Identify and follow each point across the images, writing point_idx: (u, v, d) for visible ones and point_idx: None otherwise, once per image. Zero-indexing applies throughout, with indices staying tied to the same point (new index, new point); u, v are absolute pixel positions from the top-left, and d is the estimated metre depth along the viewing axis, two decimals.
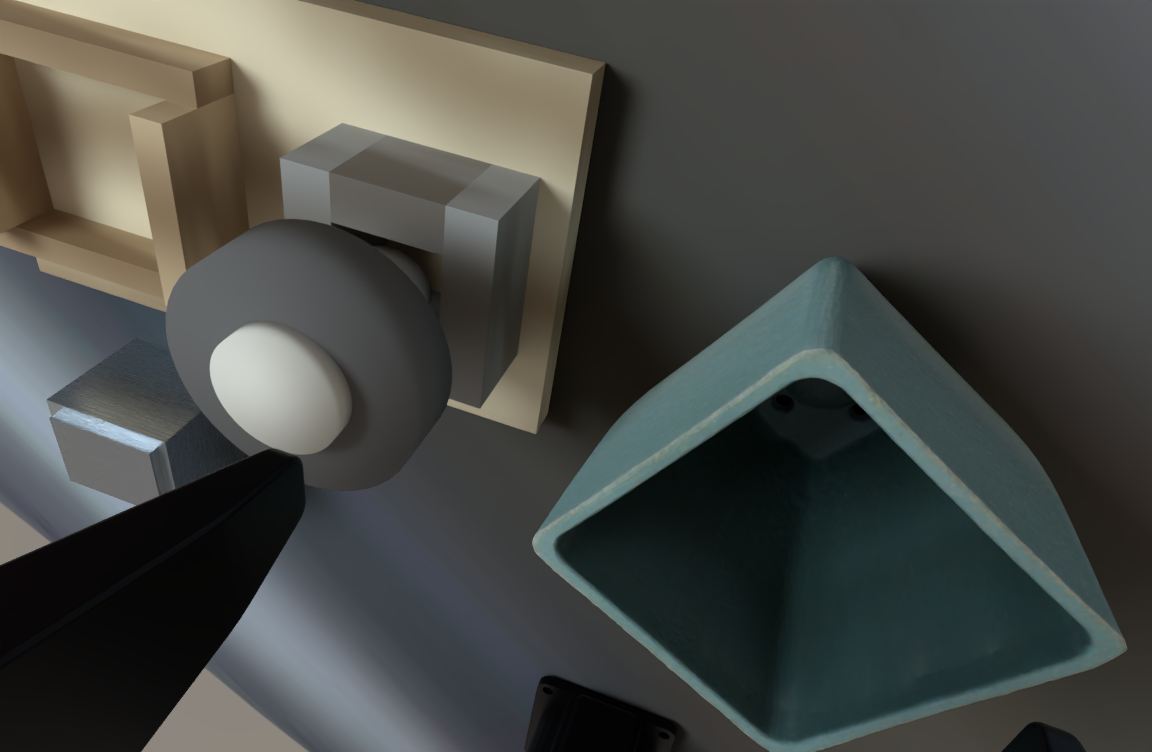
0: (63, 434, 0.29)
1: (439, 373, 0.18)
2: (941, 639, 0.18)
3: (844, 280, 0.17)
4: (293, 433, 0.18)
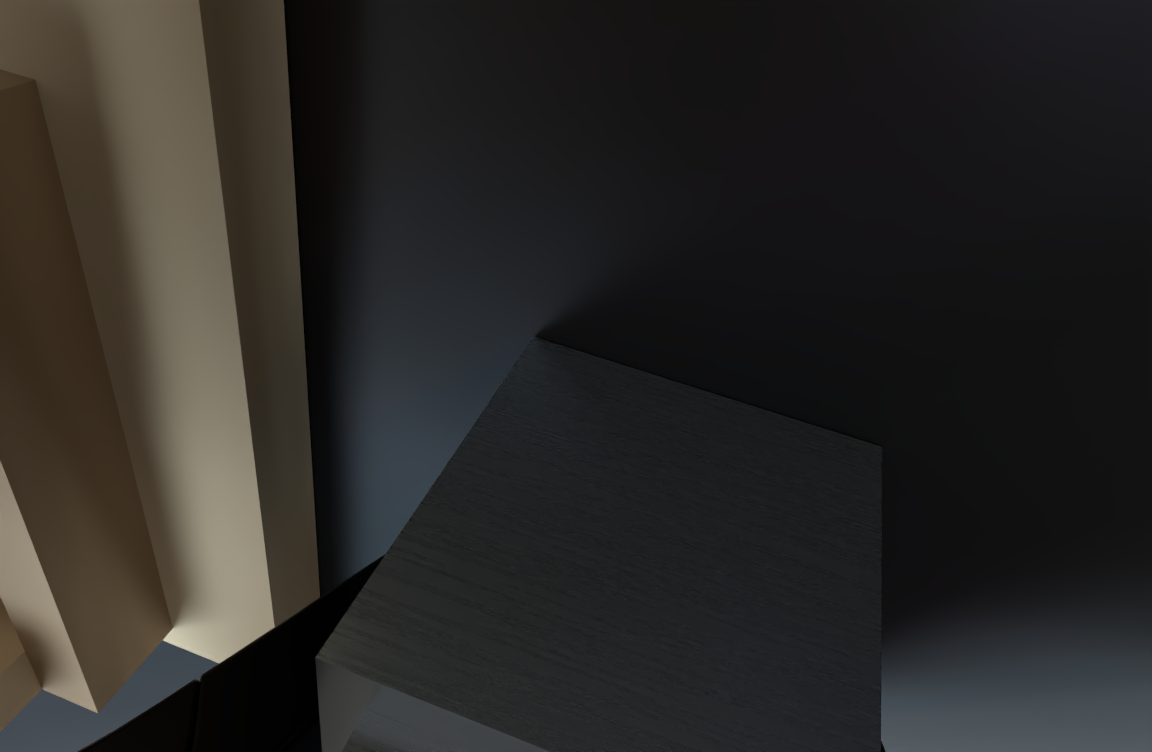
0: None
1: None
2: None
3: None
4: None
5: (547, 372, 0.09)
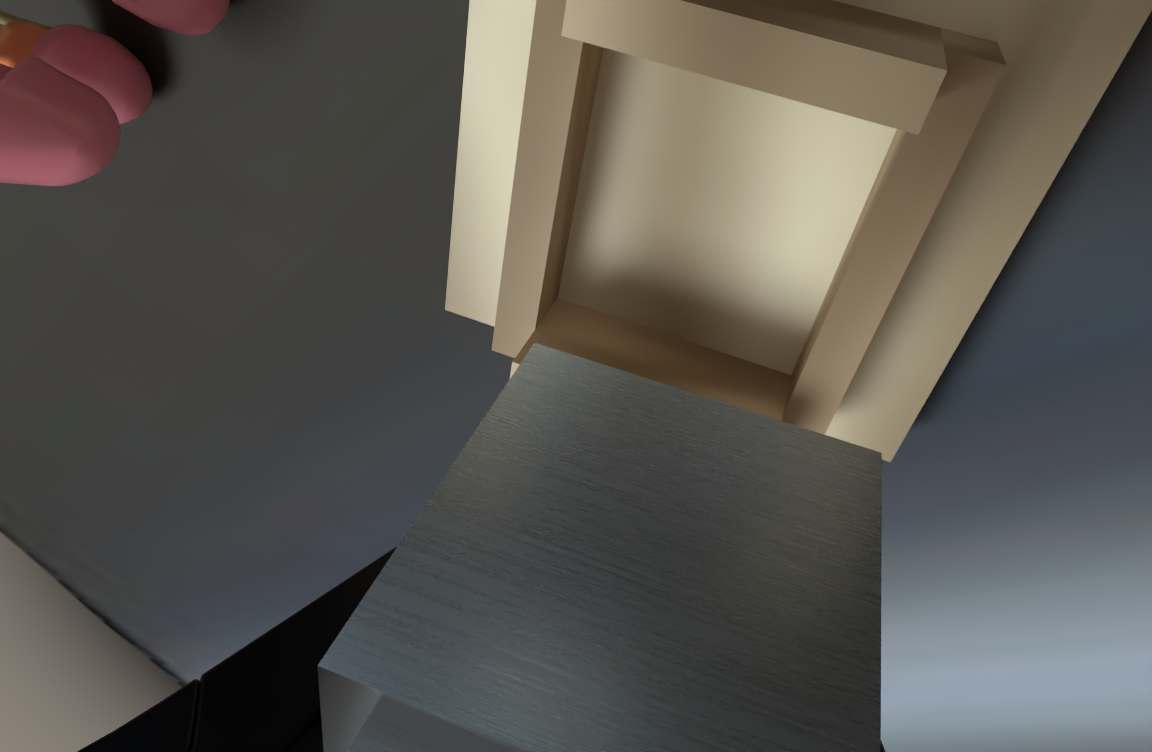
0: None
1: None
2: None
3: None
4: None
5: (548, 378, 0.09)
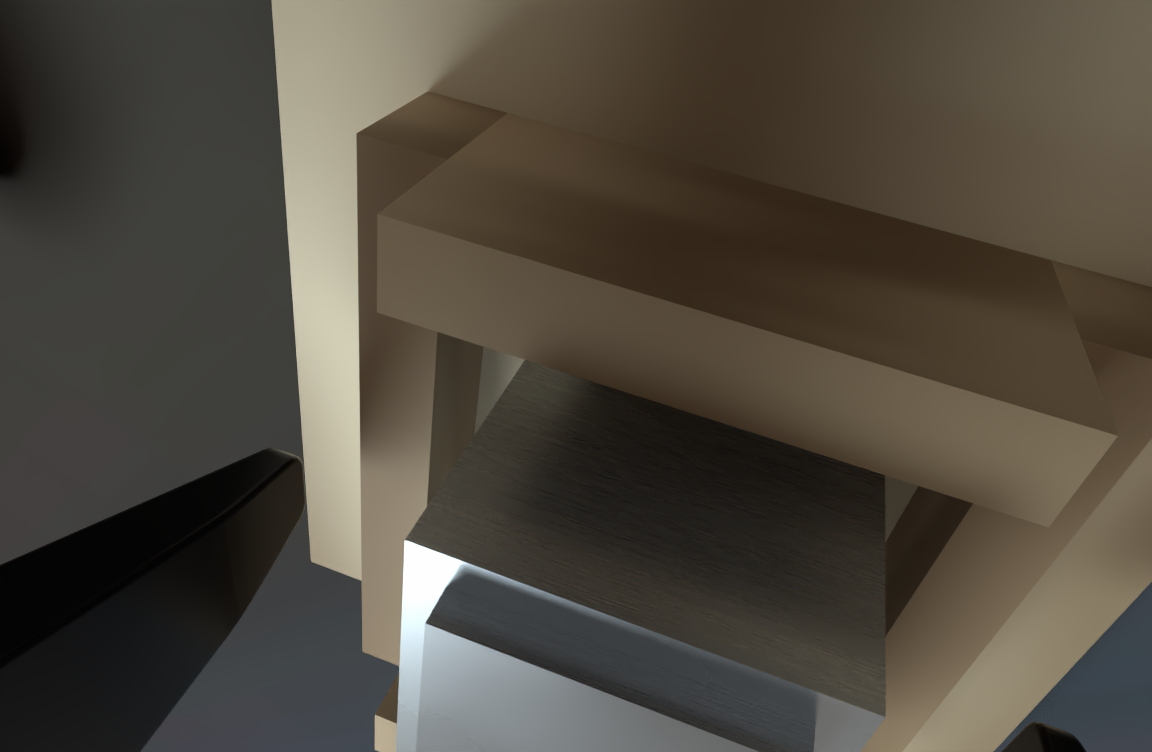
0: None
1: None
2: None
3: None
4: None
5: None
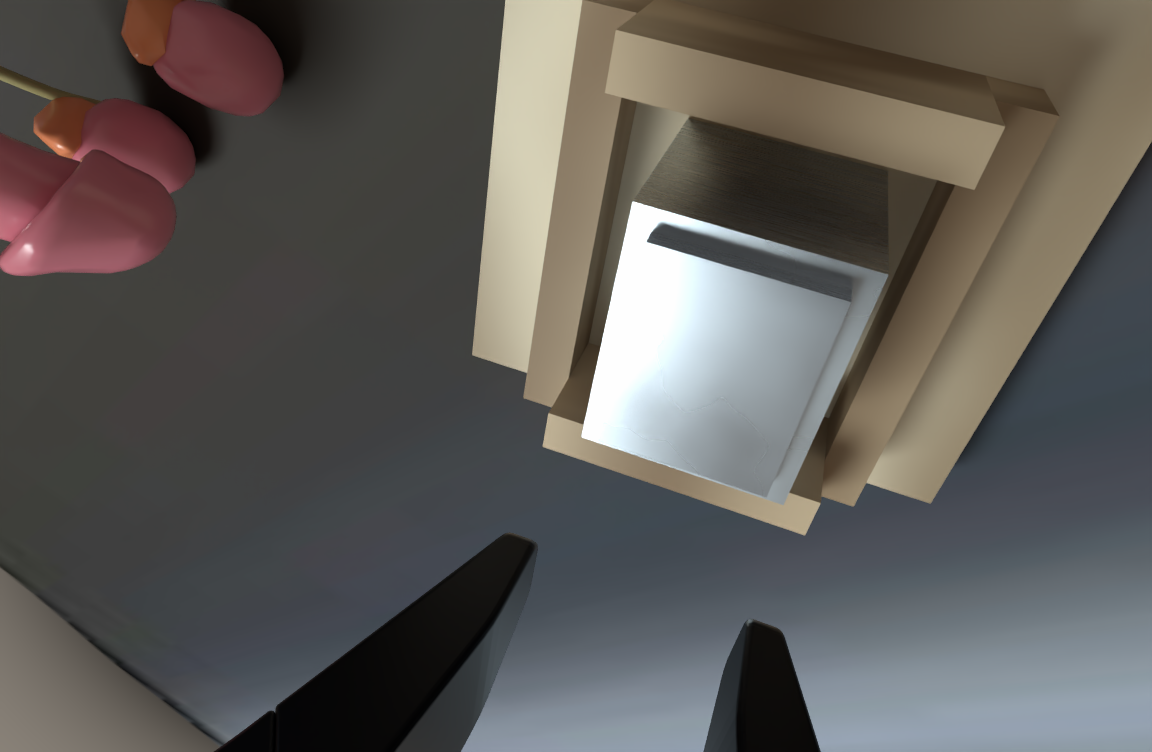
0: (636, 436, 0.15)
1: None
2: None
3: None
4: None
5: (700, 130, 0.16)
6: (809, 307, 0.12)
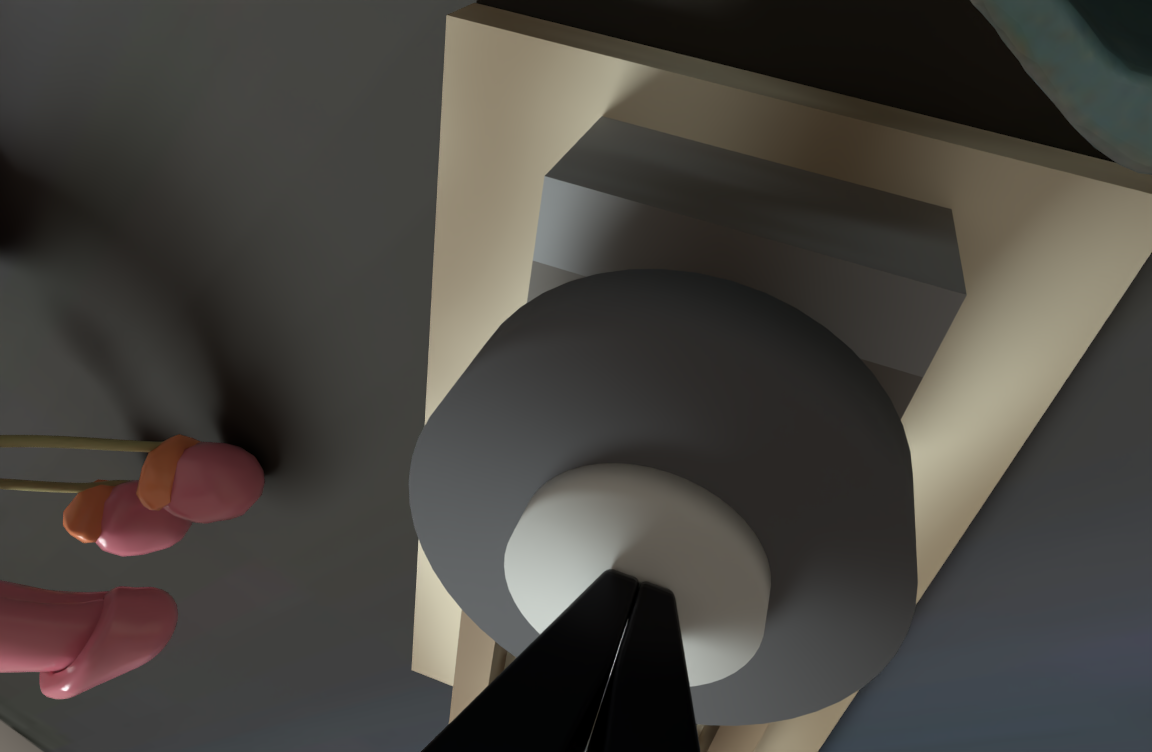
0: None
1: (670, 294, 0.09)
2: None
3: None
4: (710, 603, 0.09)
5: None
6: None
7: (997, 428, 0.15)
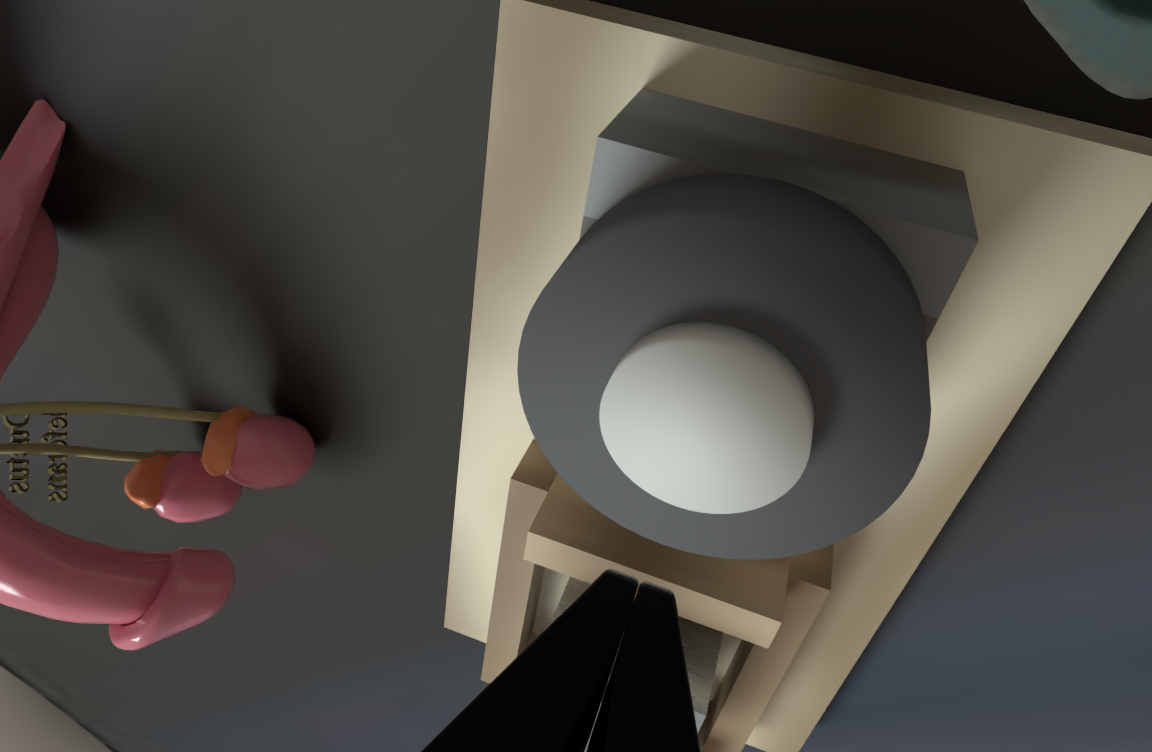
0: None
1: (736, 188, 0.12)
2: None
3: None
4: (767, 431, 0.12)
5: None
6: None
7: (1005, 378, 0.16)
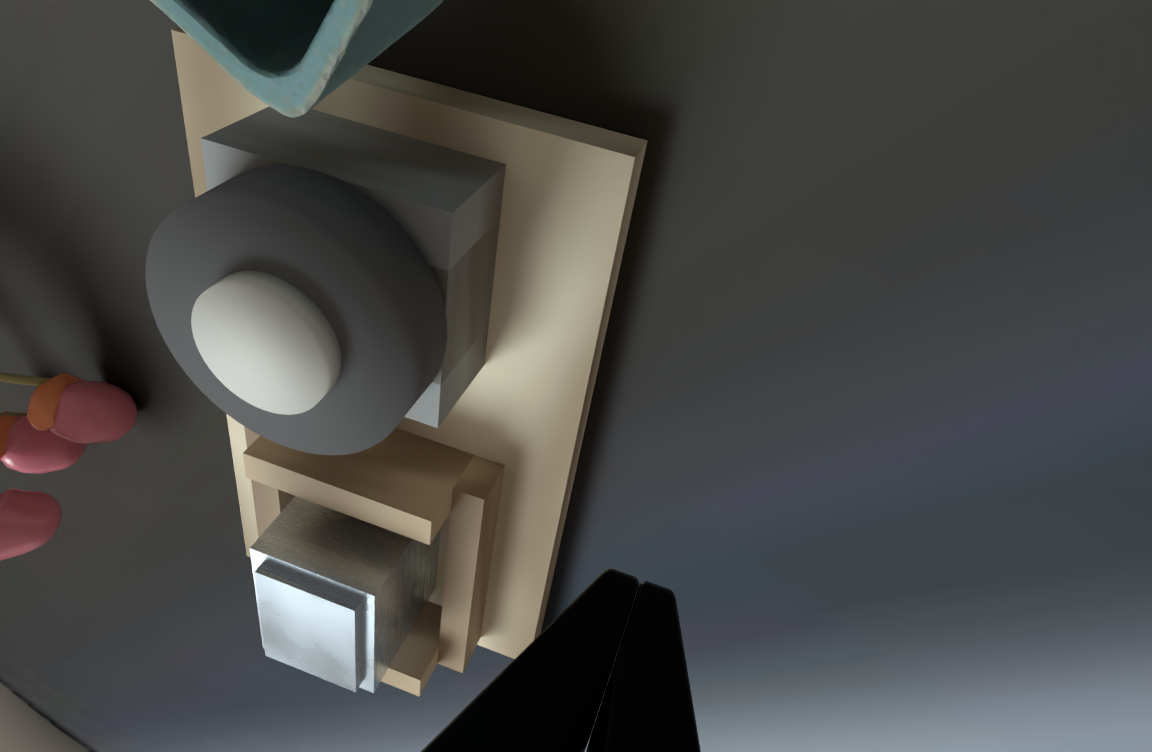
0: (283, 655, 0.25)
1: (273, 175, 0.16)
2: None
3: None
4: (294, 348, 0.16)
5: None
6: (337, 610, 0.23)
7: (578, 325, 0.21)
